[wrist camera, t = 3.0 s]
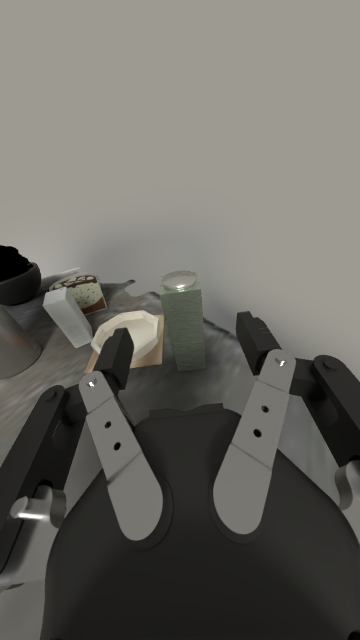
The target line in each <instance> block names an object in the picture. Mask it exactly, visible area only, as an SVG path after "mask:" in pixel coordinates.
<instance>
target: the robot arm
mask: <svg viewBox="0 0 360 640" xmlns="http://www.w3.org/2000/svg"><path fill="white" fill-rule="evenodd" d="M236 334H237V338H238V340H239V343H240V345H241V347H242V350H243V352H244V354H245V357H246V359H247V362H248V364H249V366H250V369H251V371H252V373H253V376H255V375H259V377H258V380H256V382H255V385H254V387H253V390H252V392H251V395H250V397H249V400H248V402H247V405H246V407H245V410H244V412H243V415H242V416H241V415H240V414H238V413H236V412H234V411H232V410H229V409H224V408H223V404H222V403H218V404H208V405H203V406H200V407H198V408H195V409H192V410H190V411H187V412H183V411H177V410H171V409H160V410H151V411H150V414H149V417H147V418H145V419H143V420H141V421H140V422H139V423H138V424H136V425H135V424H134V422H133V421H132V419H131V418H130V416H129V414H128V412H127V411H126V409H125V407H124V405H123V403H122V402H121V400H120V398H119V396H118V392H119V390H125V387H126V383H127V379H128V374H129V370H130V365H131V361H132V357H133V352H134V343H133V340H132V338H131V335H130V333H129V331H128V329H127V328H126V327H125V328H117V329H115V331H114V333H113V336H109V338H108V339H107V340H106V341H105V342H104V344H103V347H102V349H101V351H100V354H99V356H98V359H97V361H96V363H95V366H94V368H93V370H92V372H90V373H88V374H87V375H85V376H84V377H83V378H82V379H81V381H80V383H79V384H77V385H74V386H71V387H69V388H66V389H65V388H64V387H63V386H61V385H56V386H53V387H51V388H49V389H47V390H46V391H45V392H44V393H43V394H42V395H41V396H40V398H39V400H38V401H37V403H36V405H35V407H34V408H33V410H32V412H31V414H30V416H29V417H28V419H27V421H26V423H25V425H24V426H23V428H22V430H21V432H20V433H19V435H18V437H17V439H16V441H15V442H14V444H13V446H12V448H11V450H10V451H9V453H8V455H7V457H6V459H5V460H4V462H3V464H2V466H1V467H0V593H1V592H3V591H5V590H8V589H12V588H16V587H19V586H21V585H23V584H24V583H26V582H32V581H39V580H45V604H44V616H43V624H42V630H41V636H40V640H360V382H359V381H358V380H357V378H356V377H355V376H354V375H353V374H352V373H351V371H350V370H349V369H348V368H347V367H346V366H345V364H344V363H342V362H341V361H340V360H338V359H336V358H334V357H332V356H327V355H319V356H317V357H315V358H314V360H313V361H312V360H305V359H298V358H294V356H293V355H292V354H290V353H289V352H287V351H284V350H282V349H281V348H280V346H279V344H278V343H277V341H276V339H275V338H274V337H273V335H272V333H270V330H269V329H268V328H267V326H266V324H265V323H264V322H263V321H262V320H260V319H259V318H258V317H257V318H253V317H252V315H251V313H250V312H249V311H247V312H240V313H237V322H236ZM40 354H41V347H40V346H39V345H38V344H37V342H36V341H35V340H34V339H33V338H32V337H31V336H30V335H29V334H28V333H27V332H26V331H25V330H24V329H23V328H22V327H21V325H20V324H19V323H18V322H17V321H16V320H15V319H14V318H13V317H12V316H11V315H10V314H9V313H8V312H7V311H6V310H5V309H4V308H3V306H2V305H1V304H0V379H2V378H8V377H11V376H13V375H16V374H18V373H20V372H22V371H23V370H25V369H26V368H28V367H29V366H30V365H32V364H33V363H34V362H35V361H36V360H37V358H38V357H39V355H40ZM290 394H292V395H297V396H301V397H302V399H303V401H304V402H305V404H306V406H307V408H308V410H309V412H310V414H311V416H312V417H313V419H314V421H315V423H316V425H317V427H318V429H319V431H320V432H321V434H322V436H323V438H324V440H325V442H326V444H327V445H328V447H329V449H330V451H331V453H332V455H333V457H334V459H335V460H336V462H337V464H338V466H339V469H337V471H336V472H335V484H336V487H337V489H338V492H339V496H340V504H339V507H338V506H337V505H336V504H335V502H334V501H333V500H332V499H331V498H330V497H329V496H328V495H327V494H326V493H325V492H324V491H323V490H322V489H320V488H319V487H318V486H317V485H316V484H315V483H314V482H313V481H312V480H311V479H310V478H309V477H308V476H307V475H305V474H304V473H303V472H302V471H301V470H300V469H299V468H298V467H297V466H296V465H295V464H294V463H293V462H292V461H290V460H289V459H288V458H287V457H286V456H285V455H284V454H283V453H282V452H281V451H280V450H279V449H278V448H277V446H278V442H279V437H280V433H281V429H282V425H283V421H284V417H285V412H286V408H287V404H288V400H289V395H290ZM85 419H86V420H87V423H88V426H89V429H90V432H91V434H92V437H93V440H94V443H95V446H96V449H97V452H98V455H99V458H100V461H101V463H102V466H103V468H102V469H101V471H100V472H99V473H98V475H97V476H96V477H95V479H94V480H93V481H92V483H91V484H90V485H89V487H88V488H87V489H86V491H85V492H84V493H83V495H82V496H81V497H80V499H79V500H78V501H77V503H76V504H75V505H74V507H73V508H72V509H71V511H70V512H69V513H68V515H67V516H66V518H64V516H65V514H66V509H67V508H66V495H65V493H64V492H63V489H64V486H65V483H66V480H67V476H68V473H69V470H70V467H71V464H72V460H73V457H74V454H75V451H76V448H77V444H78V441H79V438H80V435H81V432H82V428H83V425H84V422H85ZM58 422H59V423H58ZM57 424H58V425H57ZM56 426H57V428H56ZM55 429H56V430H55ZM54 431H55V433H54ZM53 434H54V435H53ZM52 436H53V437H52Z"/></svg>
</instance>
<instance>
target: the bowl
mask: <svg viewBox="0 0 360 640" xmlns="http://www.w3.org/2000/svg"><path fill="white" fill-rule="evenodd" d="M125 327H126V328H127V329H128V331H129V333H130V335H131V338H132V340H133V343H134V352H133V357H132V361H131V363H133V362H135V361H138V360H140V359H142V358H143V357H145V356H146V355H148V354H149V353H150V352H151V351H152V350H153V349H154V348H155V346H156V345H157V343H158V341H159V338H160V331H159V329H160V323H159V320H158V318H156V317H154V316H153V315H151V314H149V313H147V312H145V311H143V310H142V311H134V312H127V313H120V314H119V315H117V316H115V317H114V318H112V319H110V320H109V321H107V322H105V323H104V324H102V325H100V326H99V328H98V330H97V332H96V334H95V336H94V338H93V340H92V342H91V344H90V345H91V346H92V347H93V349H94V350H95V351H96V352H97V354H98V355H99V354H100V351H101V349H102V347H103V344H104V342H105V341H106V340H107V339H108V338H109V336H113V333H114V331H115V329H117V328H125Z"/></svg>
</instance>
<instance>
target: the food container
mask: <svg viewBox="0 0 360 640" xmlns="http://www.w3.org/2000/svg"><path fill="white" fill-rule="evenodd" d="M98 280H99V281H100V279H99V278H98V276H96V275H95V274H94V273H90V272H85V273H78V274H74V275H71V276H68V277H65V278H63V279H61V280H59V281H57V282H55V283H54V284H53V285H51V286H50V288H49V290H50V291H54V290H57V289H60V288H63V287H67V289H68V290H69V292H70V293H71V295H72V297H73V298H74V300H75V302H76V303H77V305H78V306H79V308H80V310H81V311H82V313H83V314H84V316H85V315H88V314H92V313H95V312H98V311H101V310H105V309H108V308H107V305H106V302H105V299H104V296H103V294H102V291H101V288H100V285H99V282H98ZM100 282H101V281H100ZM50 291H49V292H50Z"/></svg>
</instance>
